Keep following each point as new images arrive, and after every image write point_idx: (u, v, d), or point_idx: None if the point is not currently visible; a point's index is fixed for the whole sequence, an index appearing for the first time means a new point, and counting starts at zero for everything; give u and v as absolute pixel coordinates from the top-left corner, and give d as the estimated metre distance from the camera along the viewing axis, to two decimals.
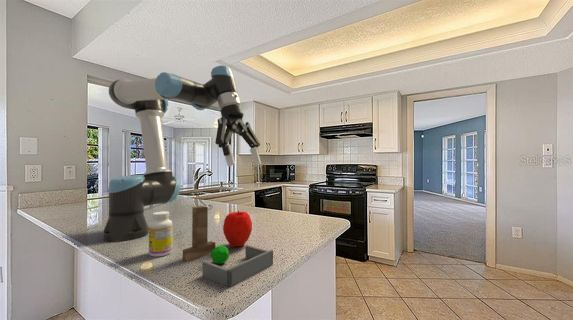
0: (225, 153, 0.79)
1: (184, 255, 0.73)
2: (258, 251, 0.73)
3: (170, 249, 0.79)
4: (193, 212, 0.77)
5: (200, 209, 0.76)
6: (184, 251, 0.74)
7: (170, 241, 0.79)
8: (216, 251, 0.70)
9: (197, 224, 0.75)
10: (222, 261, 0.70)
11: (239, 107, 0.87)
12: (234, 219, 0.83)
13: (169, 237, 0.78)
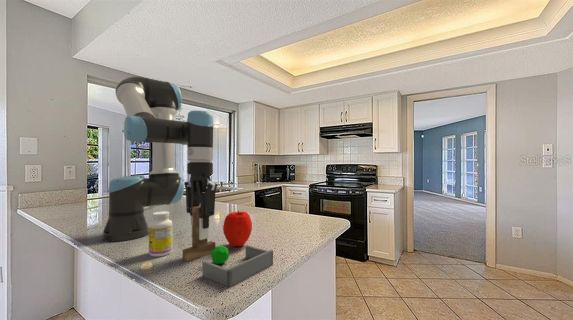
0: None
1: (184, 255, 0.73)
2: (258, 251, 0.73)
3: (170, 249, 0.79)
4: (193, 212, 0.77)
5: (200, 209, 0.76)
6: (184, 251, 0.74)
7: (170, 241, 0.79)
8: (216, 251, 0.70)
9: (197, 224, 0.75)
10: (222, 261, 0.70)
11: (189, 166, 0.75)
12: (234, 219, 0.83)
13: (169, 237, 0.78)
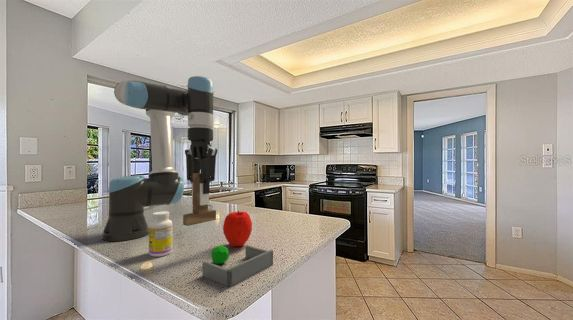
0: None
1: (185, 220, 0.73)
2: (258, 251, 0.73)
3: (170, 249, 0.79)
4: (193, 178, 0.77)
5: (200, 175, 0.76)
6: (185, 216, 0.73)
7: (170, 241, 0.79)
8: (216, 251, 0.70)
9: (198, 189, 0.75)
10: (222, 261, 0.70)
11: (190, 131, 0.75)
12: (233, 219, 0.83)
13: (169, 237, 0.78)
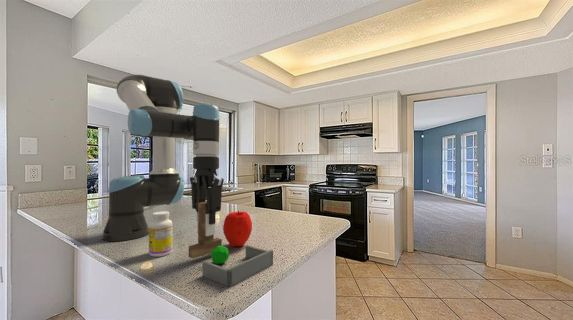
0: None
1: (190, 252, 0.72)
2: (258, 251, 0.73)
3: (170, 249, 0.79)
4: (199, 208, 0.75)
5: (206, 204, 0.74)
6: (190, 247, 0.72)
7: (170, 241, 0.79)
8: (216, 251, 0.70)
9: (203, 220, 0.74)
10: (222, 261, 0.70)
11: (195, 160, 0.73)
12: (234, 219, 0.83)
13: (169, 237, 0.78)
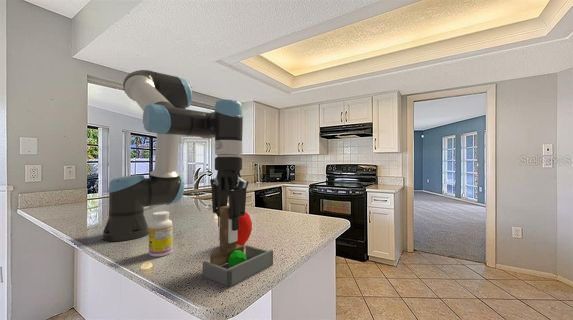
0: None
1: (212, 260, 0.66)
2: (258, 251, 0.73)
3: (170, 249, 0.79)
4: (221, 212, 0.69)
5: (229, 209, 0.68)
6: (212, 256, 0.66)
7: (170, 241, 0.79)
8: (234, 256, 0.66)
9: (226, 225, 0.68)
10: None
11: (218, 161, 0.67)
12: None
13: (169, 237, 0.78)
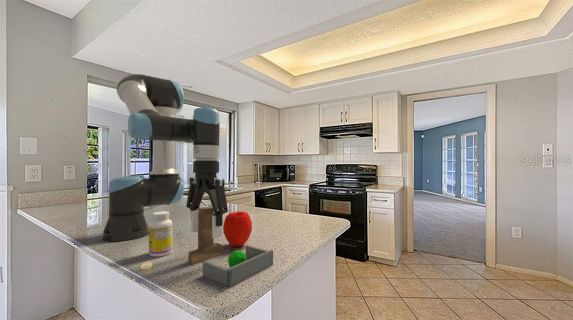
0: None
1: (190, 257, 0.72)
2: (258, 251, 0.73)
3: (170, 249, 0.79)
4: (199, 213, 0.75)
5: (206, 210, 0.74)
6: (190, 253, 0.72)
7: (170, 241, 0.79)
8: (234, 257, 0.66)
9: (203, 225, 0.74)
10: None
11: (195, 164, 0.73)
12: (234, 219, 0.83)
13: (169, 237, 0.78)
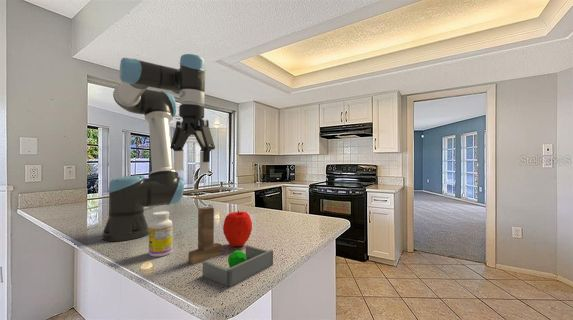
0: None
1: (190, 257, 0.72)
2: (258, 251, 0.73)
3: (170, 249, 0.79)
4: (199, 213, 0.75)
5: (206, 210, 0.74)
6: (190, 253, 0.72)
7: (170, 241, 0.79)
8: (234, 256, 0.66)
9: (203, 225, 0.74)
10: None
11: (181, 108, 0.77)
12: (234, 219, 0.83)
13: (169, 237, 0.78)
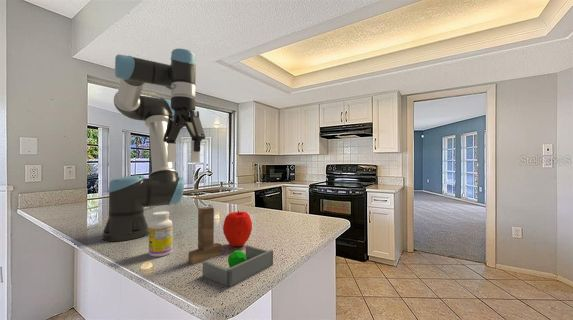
0: None
1: (190, 257, 0.72)
2: (258, 251, 0.73)
3: (170, 249, 0.79)
4: (199, 213, 0.75)
5: (206, 210, 0.74)
6: (190, 253, 0.72)
7: (170, 241, 0.79)
8: (234, 257, 0.66)
9: (203, 225, 0.74)
10: None
11: (172, 100, 0.80)
12: (234, 219, 0.83)
13: (169, 237, 0.78)
